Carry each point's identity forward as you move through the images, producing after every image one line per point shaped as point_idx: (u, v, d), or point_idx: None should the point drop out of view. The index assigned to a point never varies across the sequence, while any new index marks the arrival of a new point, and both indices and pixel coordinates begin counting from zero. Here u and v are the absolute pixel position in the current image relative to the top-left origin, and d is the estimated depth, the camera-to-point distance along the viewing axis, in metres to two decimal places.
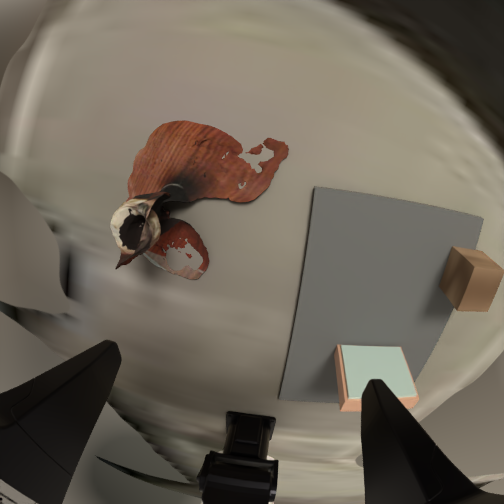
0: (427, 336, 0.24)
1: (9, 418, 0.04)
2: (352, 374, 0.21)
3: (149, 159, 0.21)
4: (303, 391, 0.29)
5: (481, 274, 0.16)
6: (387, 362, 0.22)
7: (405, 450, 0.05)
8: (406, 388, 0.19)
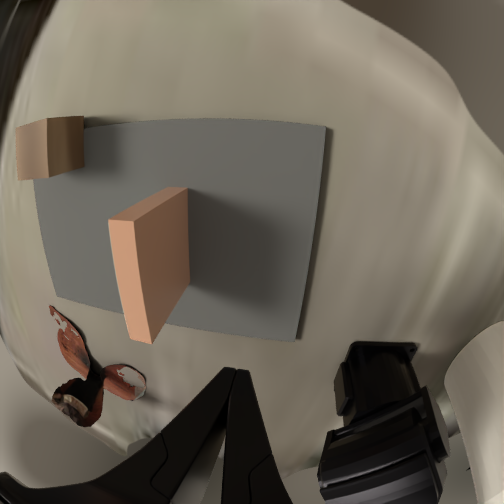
0: (148, 145, 0.17)
1: (156, 498, 0.04)
2: None
3: (83, 373, 0.30)
4: (272, 314, 0.21)
5: (20, 165, 0.14)
6: None
7: (229, 448, 0.05)
8: None
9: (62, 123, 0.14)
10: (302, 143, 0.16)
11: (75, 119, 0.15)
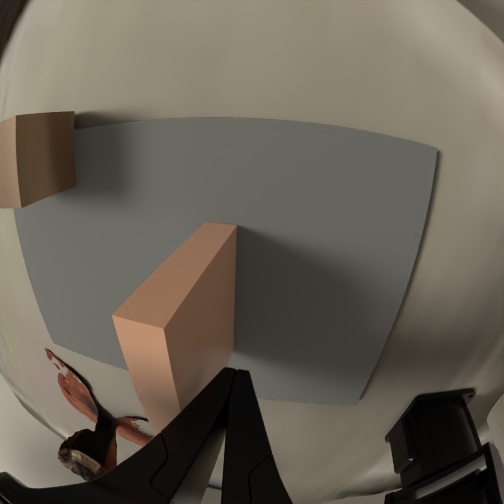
0: (174, 157, 0.11)
1: (156, 497, 0.04)
2: None
3: (90, 417, 0.24)
4: (337, 380, 0.15)
5: None
6: None
7: (229, 448, 0.05)
8: None
9: (41, 122, 0.09)
10: (408, 169, 0.10)
11: (61, 116, 0.10)
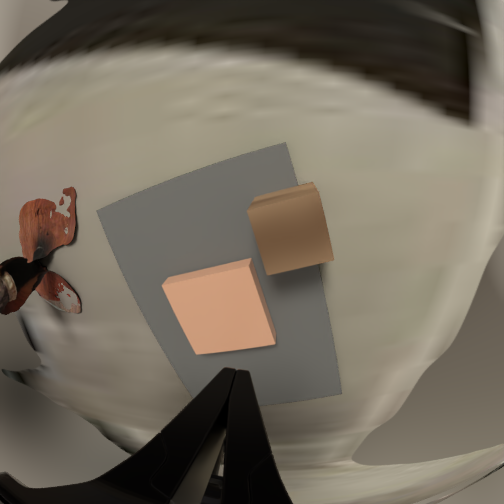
0: (306, 313, 0.22)
1: (156, 497, 0.04)
2: None
3: (24, 235, 0.24)
4: None
5: (269, 215, 0.15)
6: None
7: (229, 448, 0.05)
8: None
9: None
10: (329, 388, 0.25)
11: None
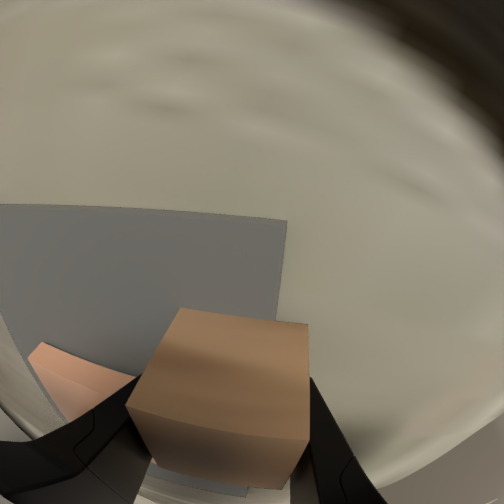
0: None
1: (75, 462, 0.04)
2: None
3: None
4: None
5: (174, 431, 0.05)
6: None
7: (313, 456, 0.05)
8: None
9: None
10: (232, 492, 0.17)
11: None
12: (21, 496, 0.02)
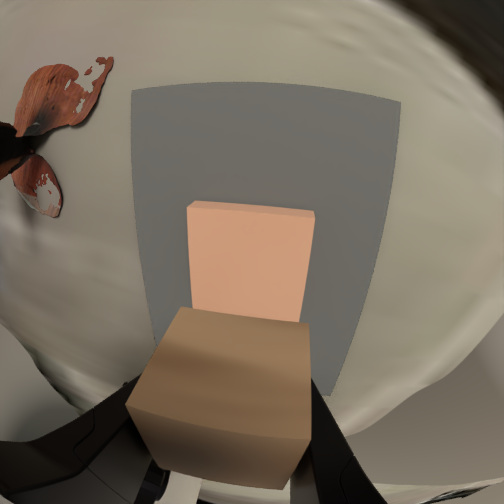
0: (341, 297, 0.18)
1: (75, 462, 0.04)
2: None
3: (22, 106, 0.15)
4: None
5: (175, 430, 0.05)
6: None
7: (313, 456, 0.05)
8: None
9: None
10: (320, 386, 0.22)
11: None
12: (21, 496, 0.02)
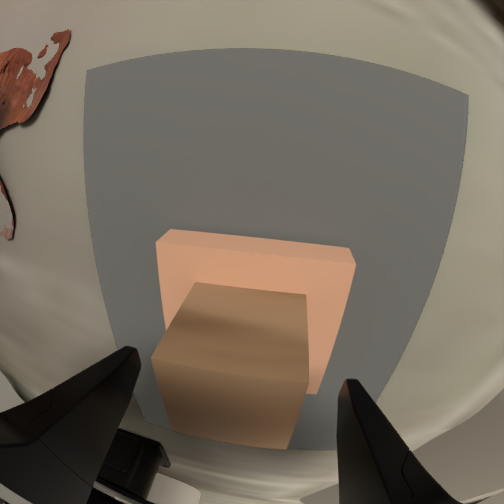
0: (372, 356, 0.13)
1: (29, 433, 0.04)
2: None
3: None
4: None
5: (193, 381, 0.07)
6: None
7: (375, 454, 0.05)
8: None
9: None
10: (332, 443, 0.17)
11: None
12: None
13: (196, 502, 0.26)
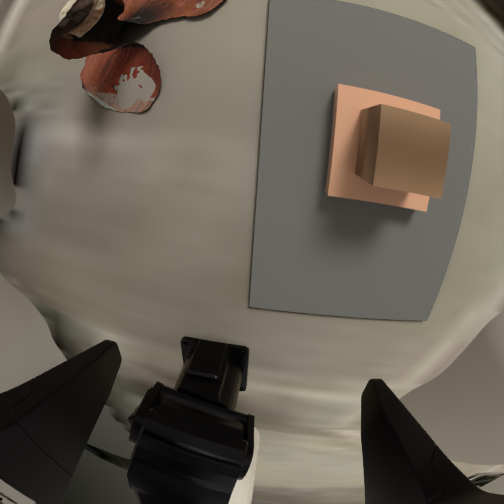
0: (449, 195, 0.17)
1: (9, 418, 0.04)
2: None
3: None
4: (283, 289, 0.21)
5: (401, 120, 0.11)
6: None
7: (405, 450, 0.05)
8: None
9: None
10: (421, 308, 0.21)
11: None
12: None
13: (258, 446, 0.30)
